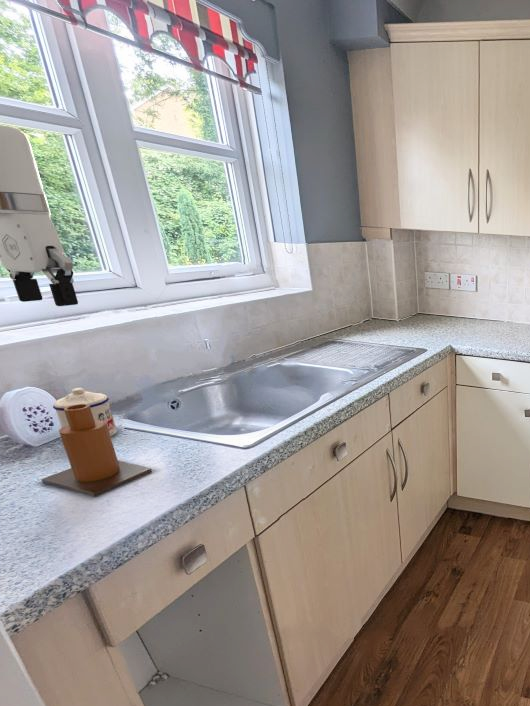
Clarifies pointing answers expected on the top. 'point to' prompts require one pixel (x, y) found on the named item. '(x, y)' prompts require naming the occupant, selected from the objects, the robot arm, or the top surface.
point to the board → (98, 486)
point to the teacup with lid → (97, 406)
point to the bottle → (88, 445)
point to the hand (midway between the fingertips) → (49, 303)
